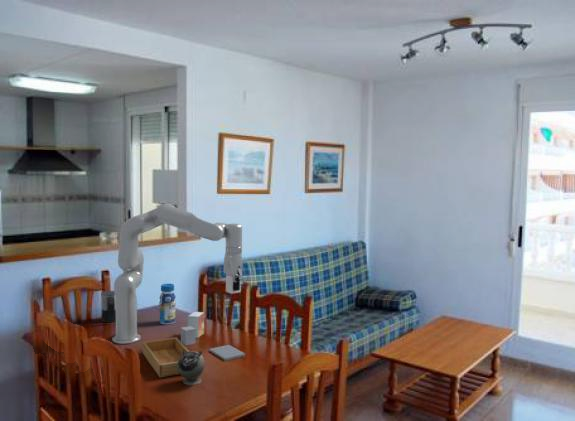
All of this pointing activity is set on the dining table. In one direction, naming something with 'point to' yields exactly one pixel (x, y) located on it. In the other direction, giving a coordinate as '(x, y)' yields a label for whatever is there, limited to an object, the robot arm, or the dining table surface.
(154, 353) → the tray
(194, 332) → the grey block
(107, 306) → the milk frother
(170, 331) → the dining table surface
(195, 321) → the small box
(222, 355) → the grey mat
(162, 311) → the beverage bottle
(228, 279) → the label box
